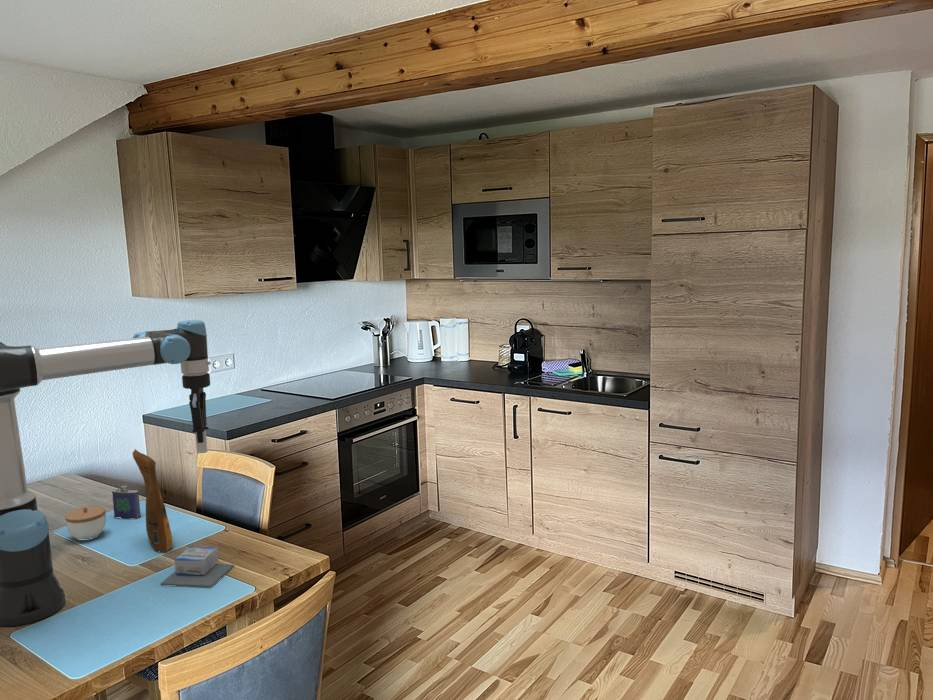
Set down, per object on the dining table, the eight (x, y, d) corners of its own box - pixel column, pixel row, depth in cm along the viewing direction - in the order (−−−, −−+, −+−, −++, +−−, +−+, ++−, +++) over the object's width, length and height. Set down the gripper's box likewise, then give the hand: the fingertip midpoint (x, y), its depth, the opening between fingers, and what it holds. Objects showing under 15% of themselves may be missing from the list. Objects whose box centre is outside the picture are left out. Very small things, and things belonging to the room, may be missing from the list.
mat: (211, 587, 176) (211, 585, 176) (160, 585, 179) (160, 583, 179) (233, 566, 188) (233, 564, 188) (186, 564, 190) (185, 562, 190)
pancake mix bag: (151, 558, 195) (142, 462, 191) (139, 536, 211) (131, 447, 206) (177, 552, 199) (168, 457, 195) (163, 531, 214) (155, 443, 210)
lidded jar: (115, 531, 215) (112, 502, 214) (88, 545, 205) (85, 515, 203) (87, 528, 218) (84, 500, 216) (59, 542, 208) (56, 512, 206)
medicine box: (217, 546, 190) (202, 560, 181) (219, 561, 190) (203, 576, 182) (190, 545, 190) (173, 559, 182) (191, 561, 191) (175, 575, 183)
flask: (142, 516, 227) (139, 484, 226) (136, 519, 224) (133, 487, 223) (117, 514, 229) (114, 483, 227) (111, 518, 226) (108, 486, 224)
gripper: (205, 376, 196) (212, 457, 199) (212, 369, 208) (218, 445, 212) (177, 378, 194) (184, 459, 198) (186, 370, 207) (192, 447, 210)
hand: (202, 452), depth 205 cm, fingers closed
